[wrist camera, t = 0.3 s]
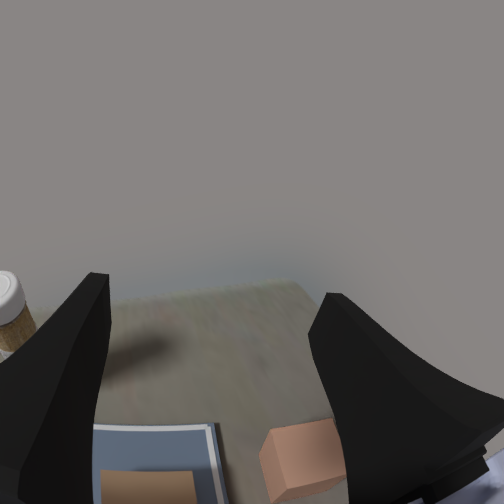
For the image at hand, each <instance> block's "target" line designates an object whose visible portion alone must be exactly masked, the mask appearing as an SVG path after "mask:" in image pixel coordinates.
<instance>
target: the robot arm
mask: <svg viewBox="0 0 504 504" xmlns="http://www.w3.org/2000/svg"><path fill="white" fill-rule="evenodd" d="M111 324H112V321H111V307H110V288H109V274H100V273H92V272H90V273H89V274H88V275H87V276H86V277H85V278H84V280H83V281H82V282H81V283H80V284H79V285H78V287H77V288H76V289H75V290H74V291H73V292H72V293H71V295H70V296H69V297H68V298H67V299H66V300H65V301H64V303H63V304H62V305H61V306H60V307H59V308H58V309H57V310H56V311H55V313H54V314H53V315H52V316H51V317H50V318H49V319H48V320H47V321H46V322H45V323H44V324H43V325H42V326H41V327H40V328H39V329H38V330H37V331H36V332H35V333H34V334H33V335H32V336H31V337H30V338H29V339H28V340H27V341H26V342H25V343H24V344H23V345H22V346H21V347H19V348H18V349H17V350H16V351H15V352H14V353H13V354H11V355H10V356H9V357H8V358H7V359H5V360H4V361H3V362H2V363H0V504H94V501H93V481H92V447H93V426H94V416H95V409H96V403H97V398H98V393H99V389H100V384H101V379H102V375H103V370H104V366H105V361H106V357H107V353H108V347H109V339H110V331H111ZM308 338H309V343H310V348H311V352H312V356H313V360H314V363H315V365H316V368H317V371H318V373H319V376H320V379H321V381H322V384H323V387H324V389H325V392H326V394H327V397H328V400H329V402H330V405H331V407H332V410H333V413H334V416H335V420H336V424H337V428H338V432H339V436H340V440H341V445H342V450H343V456H344V461H345V468H346V475H347V483H348V495H349V504H504V448H503V449H501V450H500V451H499V452H497V453H495V454H494V455H493V456H491V457H490V458H488V459H487V460H484V458H483V455H484V454H486V452H487V450H486V448H485V446H484V445H485V444H486V443H487V442H488V441H490V440H491V439H492V438H493V437H494V436H495V435H496V434H498V433H499V432H500V431H501V430H502V429H503V428H504V399H502V398H499V397H497V396H494V395H491V394H488V393H485V392H482V391H480V390H477V389H475V388H473V387H471V386H469V385H466V384H464V383H462V382H460V381H458V380H456V379H454V378H452V377H451V376H449V375H447V374H445V373H444V372H442V371H440V370H439V369H437V368H435V367H433V366H432V365H430V364H429V363H427V362H426V361H425V360H423V359H422V358H420V357H419V356H417V355H416V354H414V353H413V352H412V351H410V350H409V349H408V348H407V347H405V346H404V345H403V344H402V343H400V342H399V341H398V340H397V339H395V338H394V337H393V336H392V335H391V334H389V333H388V332H387V331H386V330H385V329H384V328H382V327H381V326H380V325H379V324H378V323H376V322H375V321H374V320H373V319H372V318H371V317H369V316H368V315H367V314H366V313H365V312H364V311H363V310H362V309H361V308H359V307H358V306H357V305H356V304H355V303H353V302H352V301H351V300H349V299H348V298H347V297H346V296H344V295H343V294H341V293H326V295H325V298H324V300H323V302H322V305H321V307H320V309H319V311H318V313H317V315H316V318H315V320H314V322H313V324H312V326H311V328H310V331H309V333H308Z"/></svg>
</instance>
